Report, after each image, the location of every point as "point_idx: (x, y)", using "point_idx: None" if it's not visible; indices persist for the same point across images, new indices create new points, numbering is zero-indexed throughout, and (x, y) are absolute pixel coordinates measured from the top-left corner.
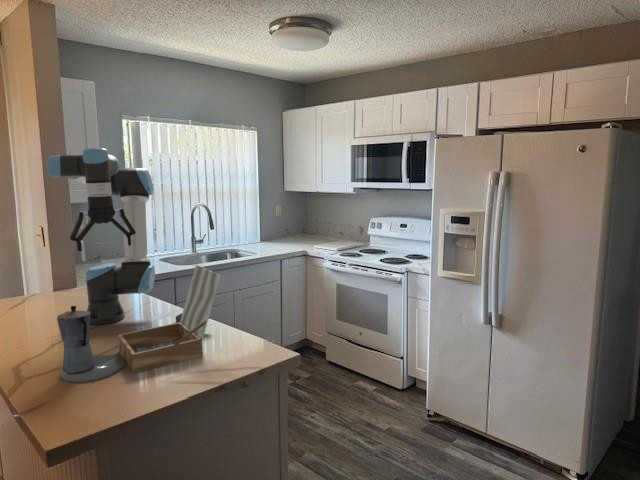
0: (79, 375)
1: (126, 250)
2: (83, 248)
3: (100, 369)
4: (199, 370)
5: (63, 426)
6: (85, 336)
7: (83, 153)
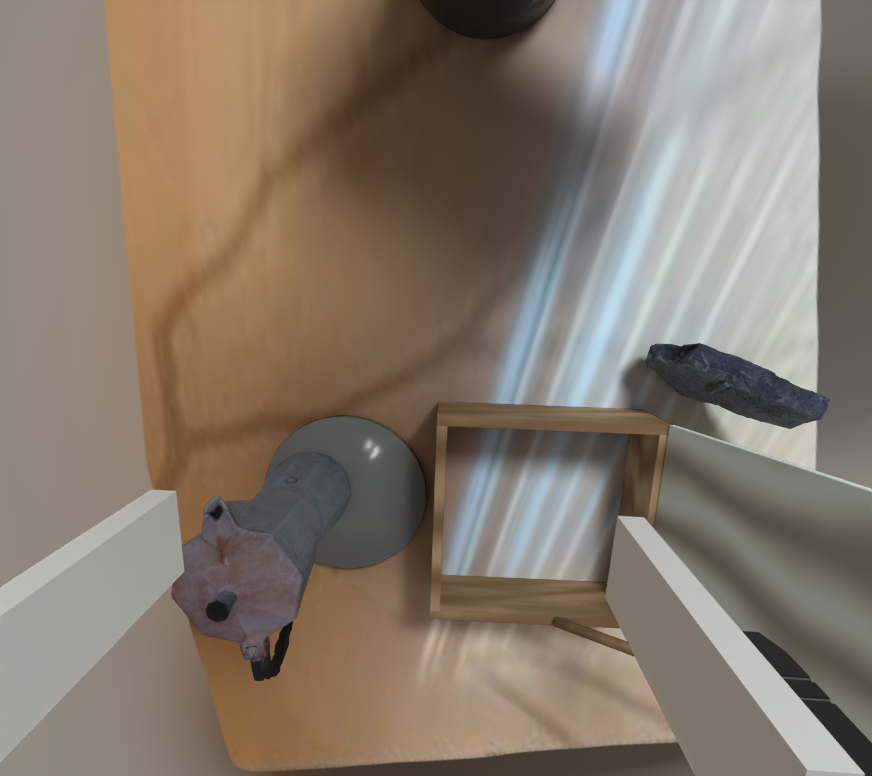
0: None
1: (633, 652)
2: (40, 705)
3: (359, 528)
4: (567, 662)
5: (260, 719)
6: (290, 628)
7: None
